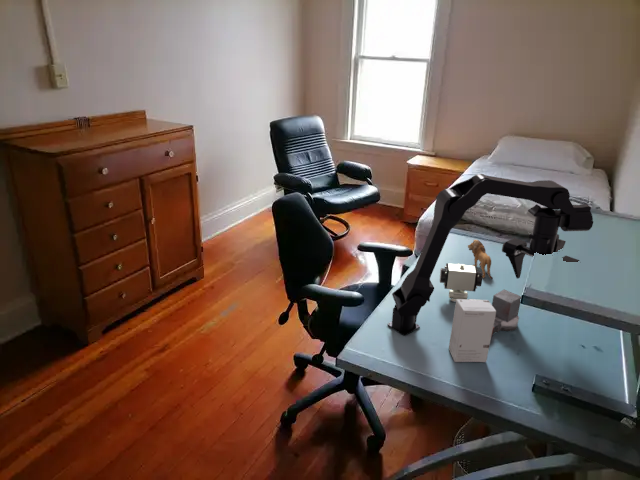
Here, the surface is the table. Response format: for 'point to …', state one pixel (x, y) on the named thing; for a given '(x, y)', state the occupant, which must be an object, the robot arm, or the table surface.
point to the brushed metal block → (506, 305)
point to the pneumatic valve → (460, 280)
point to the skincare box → (471, 330)
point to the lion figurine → (480, 256)
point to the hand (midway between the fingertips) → (533, 284)
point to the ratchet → (504, 325)
